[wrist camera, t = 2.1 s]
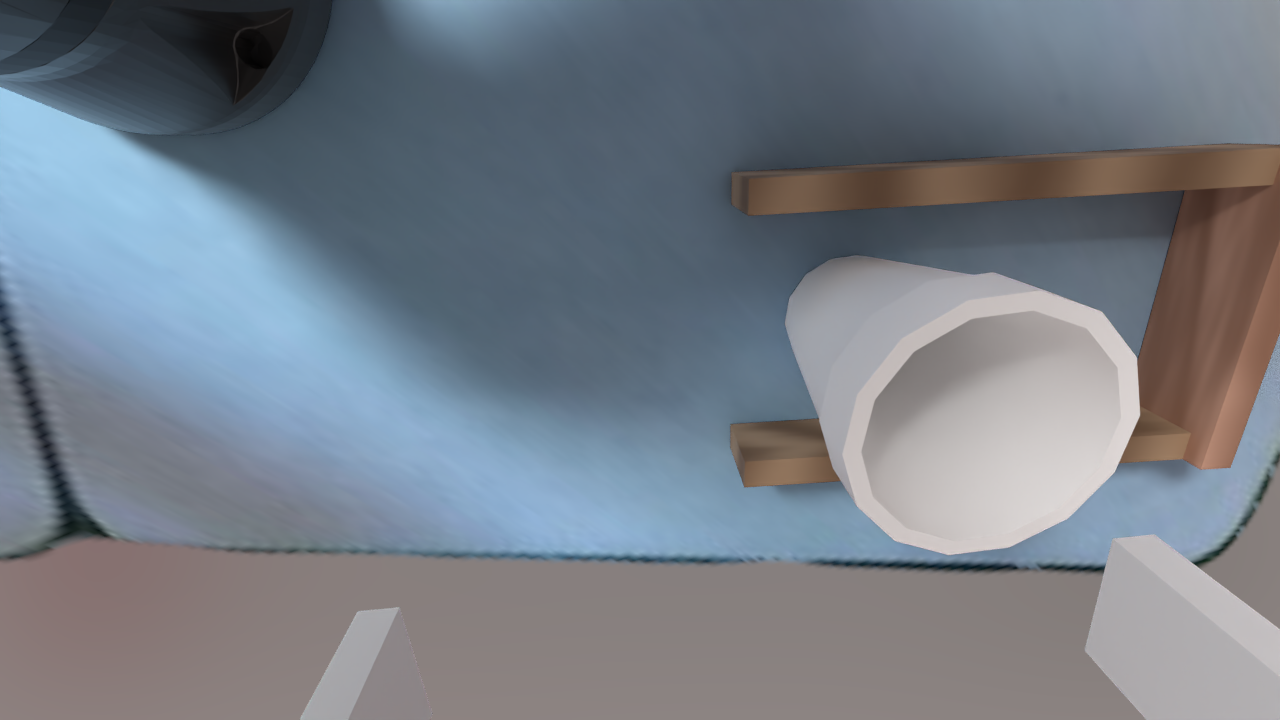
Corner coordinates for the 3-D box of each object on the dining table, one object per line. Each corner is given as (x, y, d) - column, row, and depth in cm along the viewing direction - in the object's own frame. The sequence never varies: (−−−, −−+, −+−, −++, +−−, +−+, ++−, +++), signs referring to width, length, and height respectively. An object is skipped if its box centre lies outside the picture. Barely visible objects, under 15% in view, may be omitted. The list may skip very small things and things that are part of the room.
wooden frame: (730, 447, 34) (748, 498, 29) (731, 172, 28) (754, 180, 23) (1146, 421, 34) (1230, 467, 29) (1228, 143, 28) (1347, 146, 24)
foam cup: (759, 405, 33) (842, 568, 21) (749, 239, 29) (841, 317, 17) (930, 383, 32) (1115, 533, 20) (940, 213, 29) (1169, 273, 17)
